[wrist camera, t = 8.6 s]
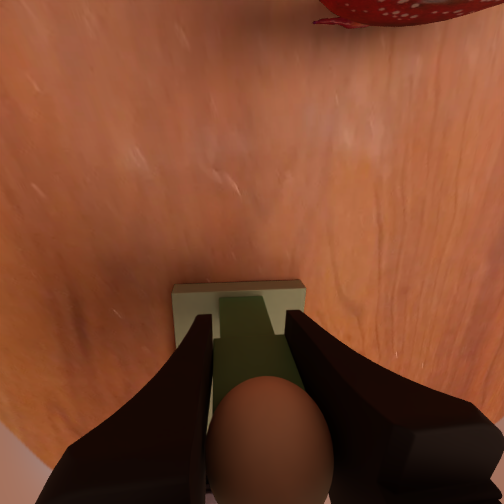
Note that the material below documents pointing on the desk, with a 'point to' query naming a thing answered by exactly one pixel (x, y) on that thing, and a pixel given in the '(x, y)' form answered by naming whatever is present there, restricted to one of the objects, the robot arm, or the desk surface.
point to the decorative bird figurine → (399, 11)
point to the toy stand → (207, 296)
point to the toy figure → (262, 416)
